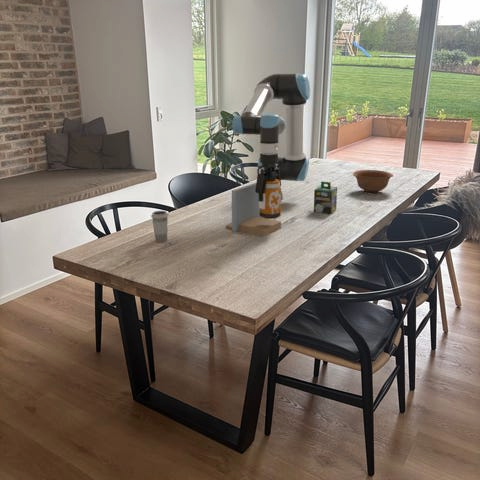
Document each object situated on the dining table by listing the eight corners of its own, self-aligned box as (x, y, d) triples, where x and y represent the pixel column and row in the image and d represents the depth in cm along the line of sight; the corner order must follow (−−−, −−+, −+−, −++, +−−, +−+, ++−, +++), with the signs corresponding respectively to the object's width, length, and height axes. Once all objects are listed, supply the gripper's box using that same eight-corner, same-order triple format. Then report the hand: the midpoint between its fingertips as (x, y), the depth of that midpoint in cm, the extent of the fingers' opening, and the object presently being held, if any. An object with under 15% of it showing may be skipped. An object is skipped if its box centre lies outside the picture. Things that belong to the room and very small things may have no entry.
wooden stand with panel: (223, 228, 215) (222, 188, 209) (254, 216, 233) (254, 179, 227) (260, 237, 204) (261, 195, 198) (290, 223, 222) (291, 184, 216)
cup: (161, 244, 197) (160, 216, 193) (149, 241, 200) (147, 213, 196) (173, 239, 202) (171, 211, 198) (160, 236, 206) (159, 209, 202)
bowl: (348, 195, 271) (349, 175, 267) (355, 186, 290) (356, 168, 286) (389, 198, 263) (391, 178, 259) (393, 189, 282) (395, 170, 278)
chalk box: (336, 209, 244) (338, 180, 239) (331, 214, 236) (333, 184, 231) (318, 207, 248) (320, 178, 243) (312, 212, 240) (314, 182, 235)
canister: (266, 220, 204) (267, 173, 197) (253, 214, 213) (253, 168, 206) (284, 217, 208) (285, 171, 201) (270, 211, 217) (271, 166, 210)
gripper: (261, 157, 191) (261, 213, 198) (290, 150, 207) (288, 201, 215) (246, 155, 195) (246, 210, 202) (275, 148, 211) (274, 199, 219)
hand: (268, 205), depth 208 cm, fingers closed on canister, 9 cm apart
